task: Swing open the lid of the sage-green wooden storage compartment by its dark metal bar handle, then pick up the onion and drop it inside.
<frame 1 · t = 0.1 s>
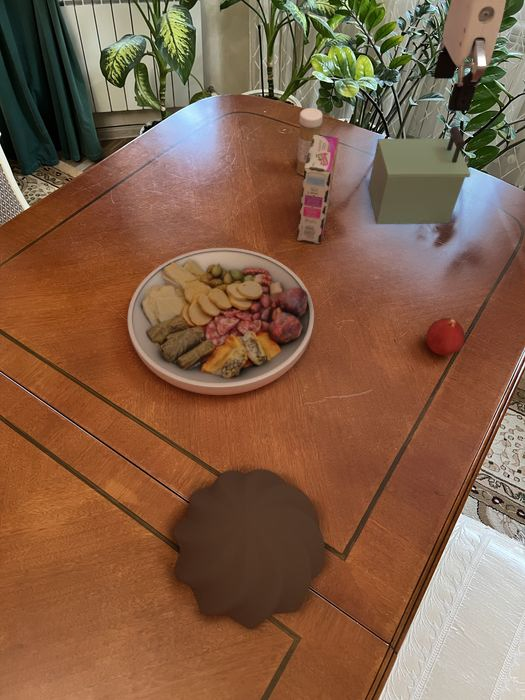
hand: (450, 93, 89), 29 cm above the table, tool pointing down, fingers open, 9 cm apart
candy bar box: (313, 226, 114), on the table
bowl: (222, 330, 97), on the table
lid: (425, 146, 107), point 14 cm above the table, hinge at 0.0°
compartment: (407, 205, 118), on the table
onion: (438, 351, 95), on the table
sprinkles bottle: (306, 171, 125), on the table
decorative dome: (248, 546, 74), on the table
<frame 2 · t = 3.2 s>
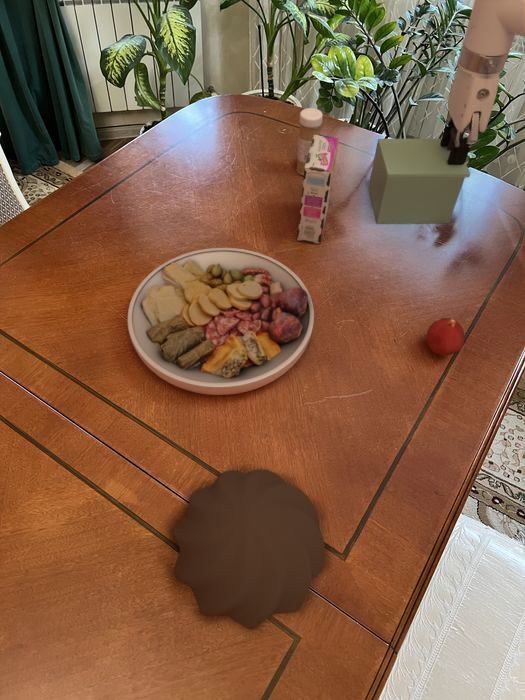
hand: (452, 153, 109), 12 cm above the table, tool pointing down, fingers closed on lid, 5 cm apart
lid: (425, 146, 107), point 14 cm above the table, hinge at 0.0°, touching gripper
everything else where it was.
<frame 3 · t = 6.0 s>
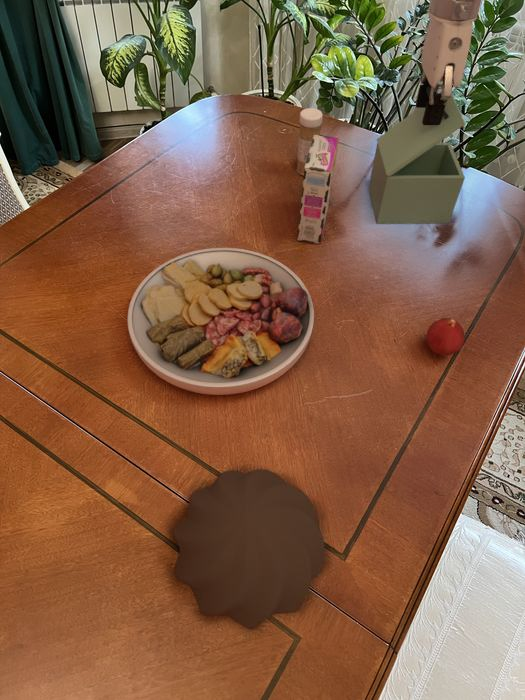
hand: (427, 114, 102), 20 cm above the table, tool pointing down, fingers closed on lid, 5 cm apart
lid: (411, 123, 103), point 18 cm above the table, hinge at 43.3°, touching gripper
everything else where it was.
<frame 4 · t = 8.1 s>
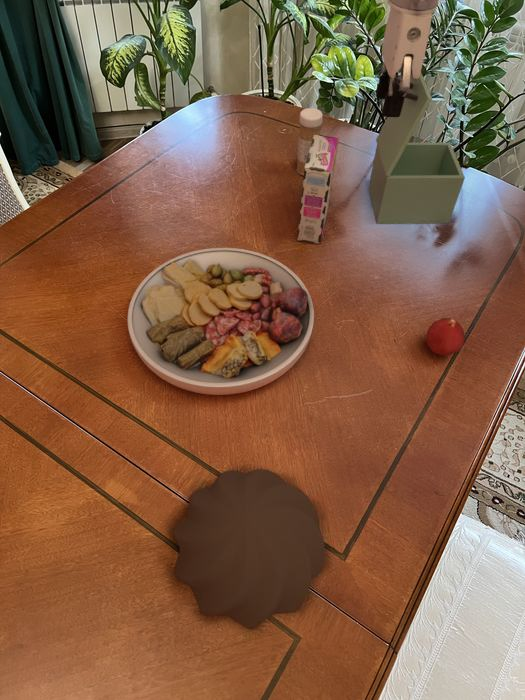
hand: (387, 106, 101), 22 cm above the table, tool pointing down, fingers closed on lid, 5 cm apart
lid: (390, 118, 102), point 19 cm above the table, hinge at 74.2°, touching gripper
everything else where it was.
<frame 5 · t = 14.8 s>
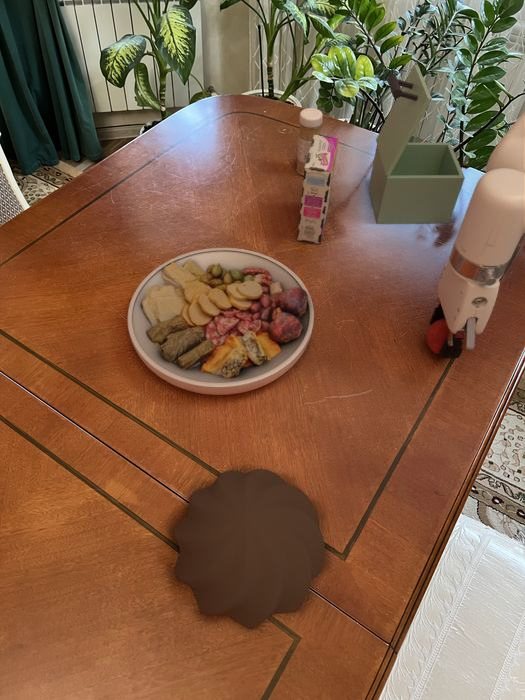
hand: (443, 339, 92), 3 cm above the table, tool pointing down, fingers closed on onion, 5 cm apart
lid: (389, 118, 102), point 19 cm above the table, hinge at 74.3°
onion: (438, 351, 95), on the table, touching gripper
everything else where it was.
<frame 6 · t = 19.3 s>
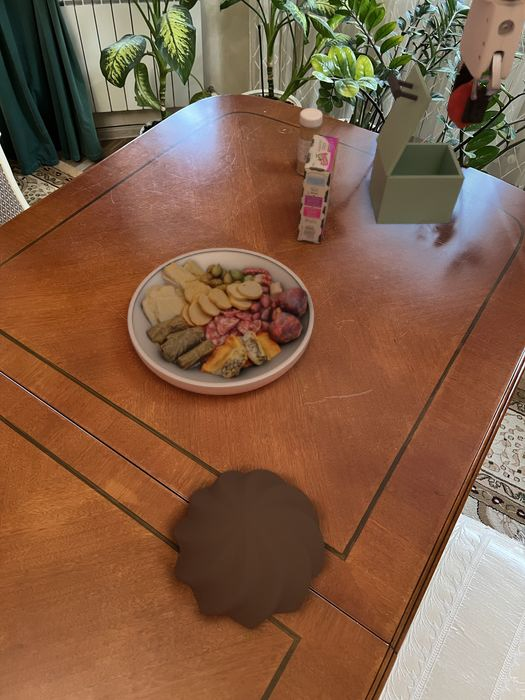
hand: (465, 109, 89), 27 cm above the table, tool pointing down, fingers closed on onion, 5 cm apart
onion: (459, 128, 92), point 24 cm above the table, touching gripper
everything else where it was.
when the fingers open (12 cm above the table, at t = 24.0 s): onion drops 7 cm, resting on compartment.
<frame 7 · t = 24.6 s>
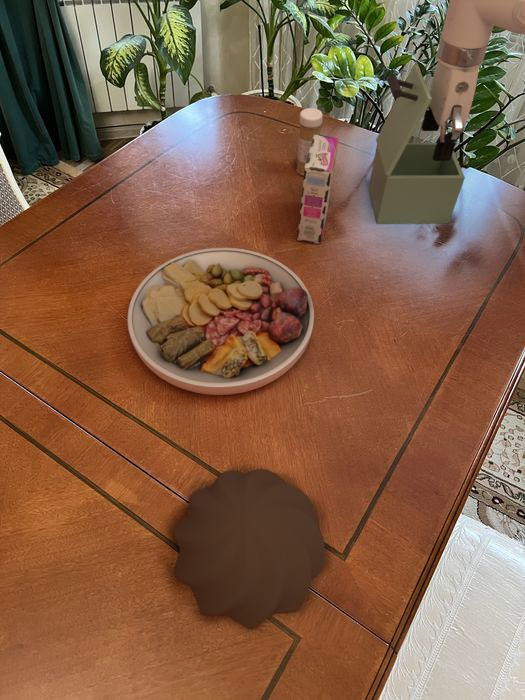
hand: (435, 144, 107), 14 cm above the table, tool pointing down, fingers open, 9 cm apart
onion: (419, 200, 117), point 1 cm above the table, touching compartment
everything else where it was.
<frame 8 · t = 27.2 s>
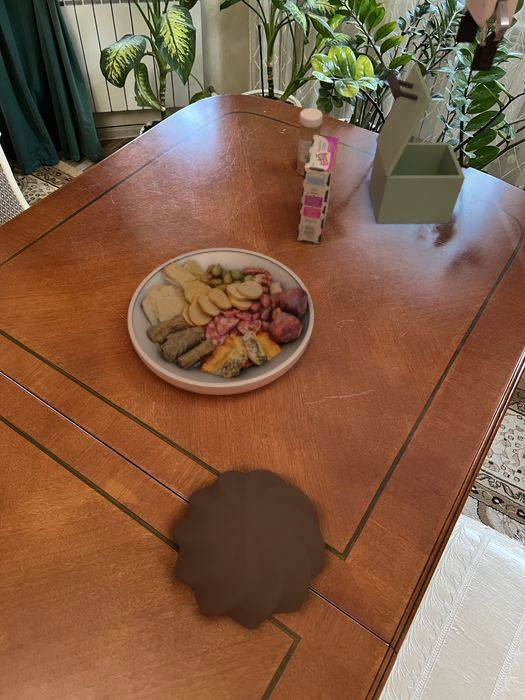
hand: (471, 55, 94), 30 cm above the table, tool pointing down, fingers open, 9 cm apart
nothing on the table moved.
at the end: lid at +74° (first picture: +0°); onion inside the target area in the compartment (2.1 cm from its centre), point 1.3 cm above the compartment's base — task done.
